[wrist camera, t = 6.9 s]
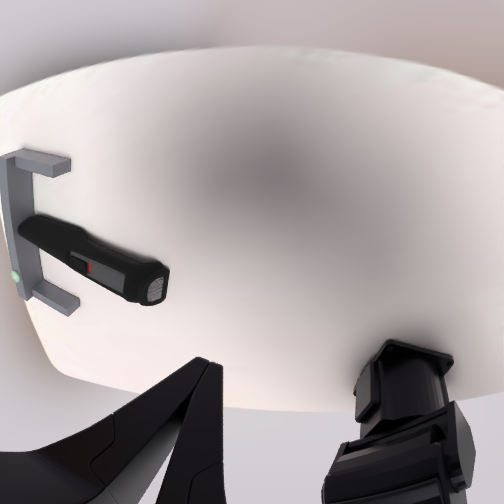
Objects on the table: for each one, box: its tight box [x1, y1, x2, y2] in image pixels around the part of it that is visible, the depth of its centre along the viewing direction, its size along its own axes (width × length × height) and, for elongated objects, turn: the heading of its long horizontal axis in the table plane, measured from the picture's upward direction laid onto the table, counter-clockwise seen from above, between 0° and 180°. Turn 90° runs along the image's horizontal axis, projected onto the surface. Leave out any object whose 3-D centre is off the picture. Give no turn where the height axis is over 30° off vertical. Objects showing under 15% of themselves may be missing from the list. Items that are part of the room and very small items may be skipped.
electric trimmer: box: [18, 215, 170, 306], centre depth 24 cm, size 4×16×3 cm, turn 73°
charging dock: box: [0, 149, 80, 317], centre depth 24 cm, size 7×15×3 cm, turn 167°
